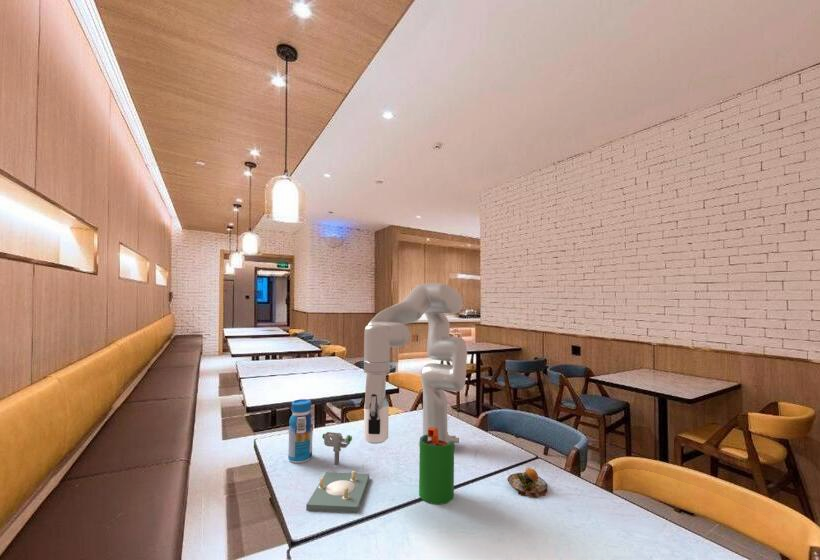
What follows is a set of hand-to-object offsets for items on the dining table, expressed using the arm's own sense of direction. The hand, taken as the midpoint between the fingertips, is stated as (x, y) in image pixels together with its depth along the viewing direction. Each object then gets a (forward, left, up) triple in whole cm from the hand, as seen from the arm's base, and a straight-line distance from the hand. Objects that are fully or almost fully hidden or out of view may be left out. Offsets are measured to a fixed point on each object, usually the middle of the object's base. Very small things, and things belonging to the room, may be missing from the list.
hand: (376, 428), depth 104 cm
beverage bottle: (+31, -23, -20) cm, 43 cm away
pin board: (+11, -2, -20) cm, 22 cm away
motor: (-17, -3, -20) cm, 27 cm away
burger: (-45, -10, -20) cm, 51 cm away
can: (0, 0, -4) cm, 4 cm away
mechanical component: (+17, -20, -20) cm, 32 cm away
